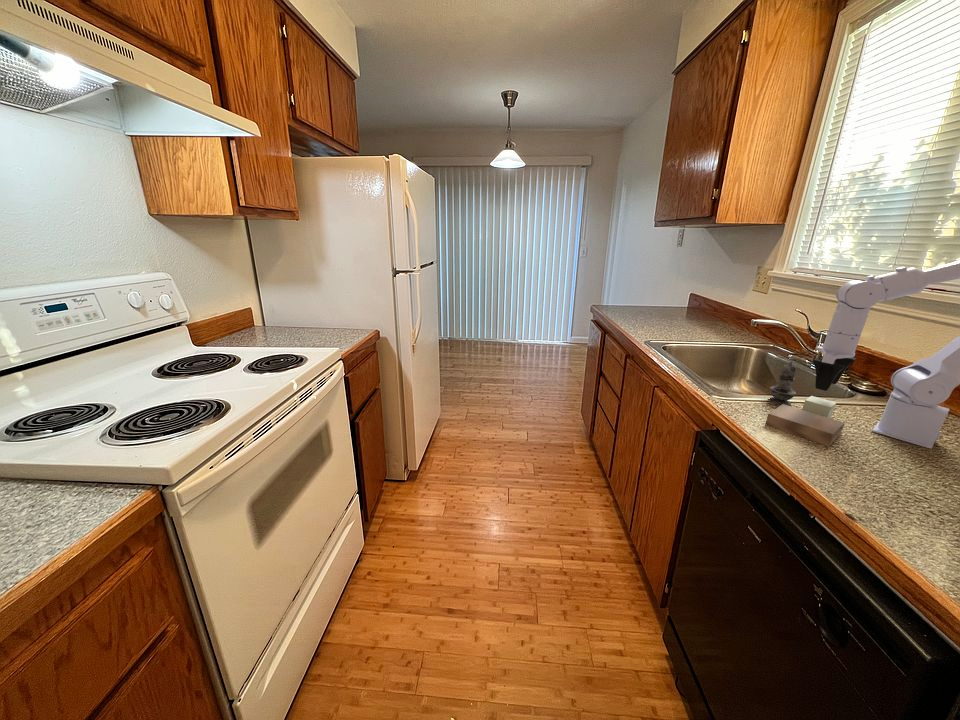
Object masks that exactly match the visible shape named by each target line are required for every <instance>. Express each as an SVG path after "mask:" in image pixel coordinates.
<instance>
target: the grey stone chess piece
mask: <svg viewBox="0 0 960 720" xmlns="http://www.w3.org/2000/svg"><path fill="white" fill-rule="evenodd" d="M796 371H797V366H795V365H794V362H793V361H790V362H789V363H787V364H784V365H783V367H782V370H781V373H780V374H779V375H778V377H779V379H778V381H777V383H776V385H772V386H769V389H770V391H769V392H770V395H771V396H772V397H769V398H770V399H768V398H767V401H768V402H769V403H772V404H775V405H778V406H781V405H782V404H784V405H788V406H791V407H792V403H791V402H790V400H792V399H793V398H794V397H795V395H796V394H797V392H796V391H795V390H794V389H793V388H792V387H793V386H792V385H793V382H794V381H795V380H796V378H795V374H796Z"/></svg>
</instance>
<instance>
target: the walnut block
mask: <svg viewBox="0 0 960 720" xmlns="http://www.w3.org/2000/svg"><path fill="white" fill-rule="evenodd" d="M764 425H766V426H768V427H771V428H774V429H777V430H780V431H783V432H786V433H788V434H791V435H794V436H797V437H800V438H803V439H805V440H809V441H812V442H815V443H818V444H821V445H824V446H827V447H830V446H831V445H832V444H833V443H834V442H835V441H836V439H838V438H839V436H840V435H841V434H842V432H843V429H844V426H845V422H844V421H840V420H838V419H834V418H832V417H831V418H828V417H824V416H821V415H818V414H814V413H811V412H808V411H804V410H802V408H801V409H800V408H797V407H794V406H792V405H791V406H788V405H784V404H782V405H778V407H776V408H775V409H773V410H772V411H770V412H769V413H768V414H767V417H766V421H765V424H764Z"/></svg>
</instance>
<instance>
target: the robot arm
mask: <svg viewBox="0 0 960 720" xmlns="http://www.w3.org/2000/svg"><path fill="white" fill-rule="evenodd" d="M865 278H866V279H865V280H864V281H862V280H851V281H847V282H845V283H844V284H843V285H841V286H840V288H839V289H838V290H836V292H835V298H836V300H837V304H836V306H835V311H834V312H833V315H832V318H831V321H830V325H829V327H828V330H827V333H826V336H825V339H824V342H823V345H822V346H821V345H819V346H816V347H815V350H816V351H820V352H821V354H822V355H823V357H822V358H813V365H814V370H815V384H814V385H815V389H816V390H817V389H818V390H820V391H823V392H826V391H828V390H829V389H830V388H831V386H832V385H837V383H838V382H839V381H840V379H841V377H842V375H843V374H844V373H845V371H846V370H847V369H848V368H849V366H850V365H851V364H853V363H854V362H855V361H856V360H857V358H856V357H855V356H856V350H857V346H858V344H859V341H860V338H861V336H862V333H863V331H864V328H865V325H866V323H867V319H868V315H869V313H870V309H871V307H872V308H873V306H875V305H876V304H878V303H879V302H880V303H881V302H886V301H889V300H894V299H899V298H902V297H907V296H912V295H916V294H920V293H922V292H923V291H924V290H925V289H926V288H927V287H928V286H930V285H934V284H935V285H936V284H938V283H944V282H950V281H953V280H959V279H960V260H957V261H952V262H950V263H947V264H942V265H938V266H935V267H931V268H928V269H927V268H926V269H924V270H921V269H919V268H916V267H908V268H907V266H899V267H897V268H895V271H892V272H889V273H885V274H881V275H876V276H875V275H867V276H866V277H865ZM890 383H891V386H892V387H893V391H891V392H890V396H889V398H888V401H887V403H886V405H885V408H884V410H883V413H882V414H881V417H880V421H878V422H877V423H876V425H875V426H874V427H873V428H872V430H871V431H872V432H873V433H877V434H880V435H882V436H887V437H889V438H893V439H897V440H899V441H900V440H901V441H903V442H907V443H910V444H913V445H916V446H919V447H923V448H927V449H933V447H934V444H935V442H936V440H937V441H938V440H939V438H940V437H941V435H942V432H940V431H941V428H942V427H943V424H944V423H945V420H946V418H947V416H948V413H949V411H950V408H949V407H944V406H942V405H941V406H940V404H942V403H943V402H945V401H946V400H948V399H949V397H951V395H952V392H953V390H954V389H955V388H956V387H958V386H959V385H960V335H958V336H957V337H955V338H954V339H952V341H950V342H949V343H947V344H946V345H945V346H943V347H942V348H941V349H940V350H938V351H937V352H936V353H934V354H933V355H932V356H930V357H926V358H922V359H918V360H916V361H915V362H913V363H912V364H911V365H908V366H906V367H905V366H904V367H902V368H899V369H897V370H896V371H895V372H893V373H892V374H891V377H890Z"/></svg>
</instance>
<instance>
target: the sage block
mask: <svg viewBox="0 0 960 720" xmlns="http://www.w3.org/2000/svg"><path fill="white" fill-rule="evenodd" d="M836 405H837V402H836V401H833V400H829V399H824V398H821V397H817V396H815V395H814V396H813V395H811V396H809V397H807V398H806V399H805V400H804V402H803V406H802V408H801V410H804V411H808V412H811V413H814V414H818V415H821V416H824V417H828V418H831V419H832V416H833V413H834V411H835V408H836Z"/></svg>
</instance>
